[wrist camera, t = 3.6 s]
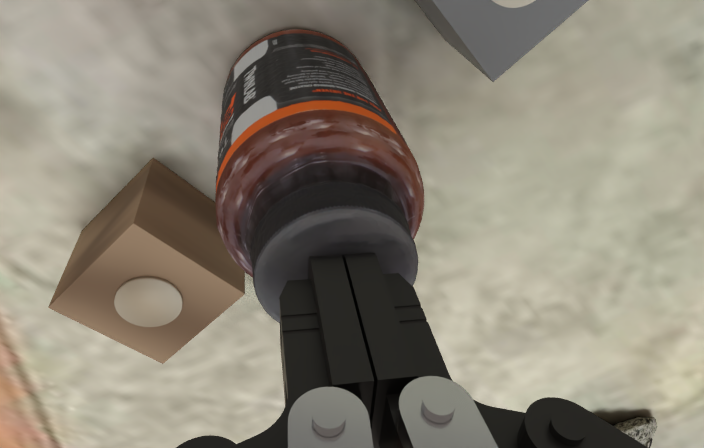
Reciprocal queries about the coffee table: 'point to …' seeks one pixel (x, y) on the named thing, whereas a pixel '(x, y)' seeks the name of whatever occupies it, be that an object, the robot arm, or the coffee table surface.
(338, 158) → the supplement bottle
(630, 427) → the rock sample
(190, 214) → the walnut dotted block
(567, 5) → the charcoal dotted block
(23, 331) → the coffee table surface
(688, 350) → the coffee table surface
